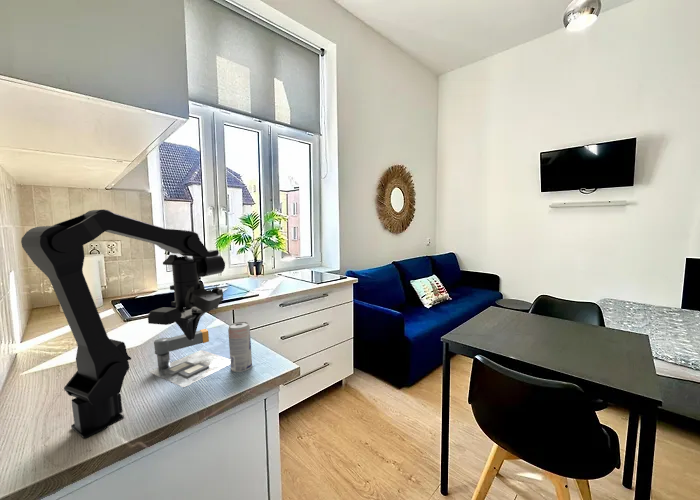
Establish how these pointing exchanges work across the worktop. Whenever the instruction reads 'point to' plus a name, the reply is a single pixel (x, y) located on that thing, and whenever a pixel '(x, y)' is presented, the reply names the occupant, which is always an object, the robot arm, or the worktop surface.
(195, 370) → the label tile
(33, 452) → the worktop surface
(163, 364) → the plate
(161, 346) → the swing arm
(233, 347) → the energy drink
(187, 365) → the label tile
